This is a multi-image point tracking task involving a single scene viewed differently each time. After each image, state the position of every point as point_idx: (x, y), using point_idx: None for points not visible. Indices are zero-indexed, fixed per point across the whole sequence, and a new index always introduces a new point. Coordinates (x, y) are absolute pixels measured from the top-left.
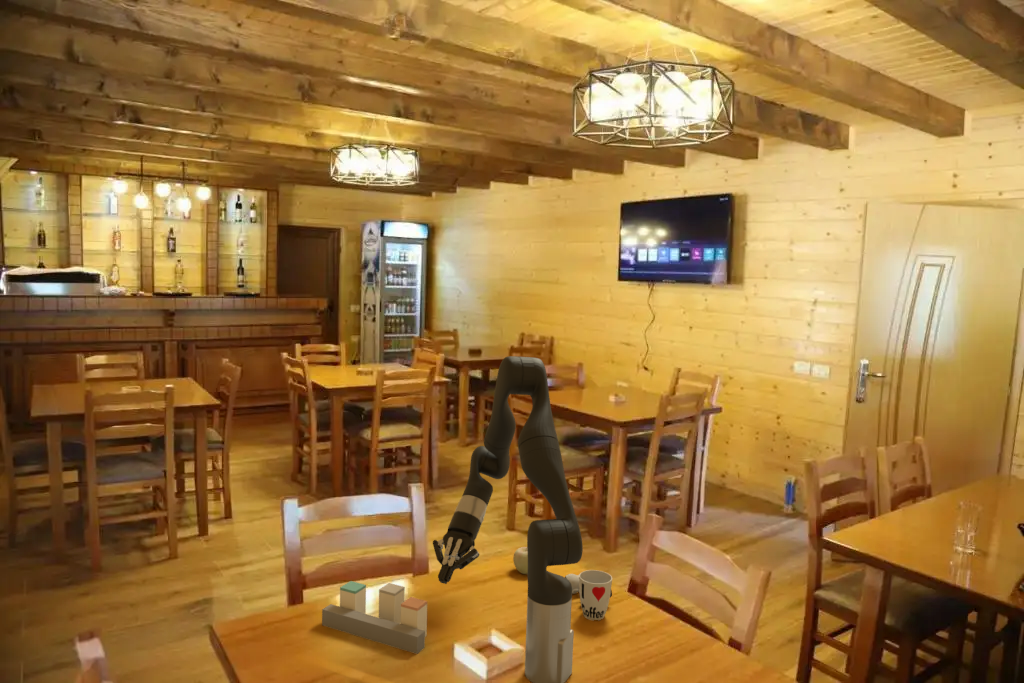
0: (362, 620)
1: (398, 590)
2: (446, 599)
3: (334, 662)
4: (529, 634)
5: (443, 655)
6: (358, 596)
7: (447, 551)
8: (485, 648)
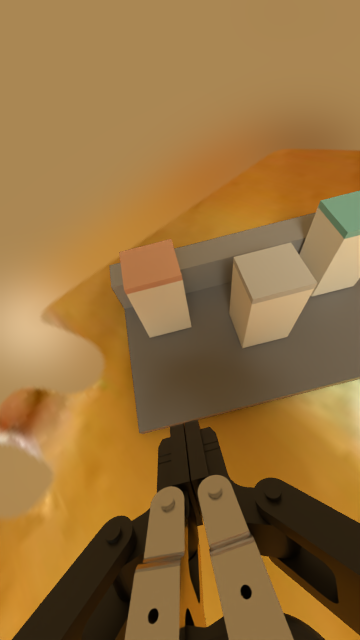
0: (247, 232)
1: (244, 274)
2: (296, 587)
3: (219, 216)
4: None
5: (92, 330)
6: (321, 227)
7: (236, 572)
8: (29, 407)
